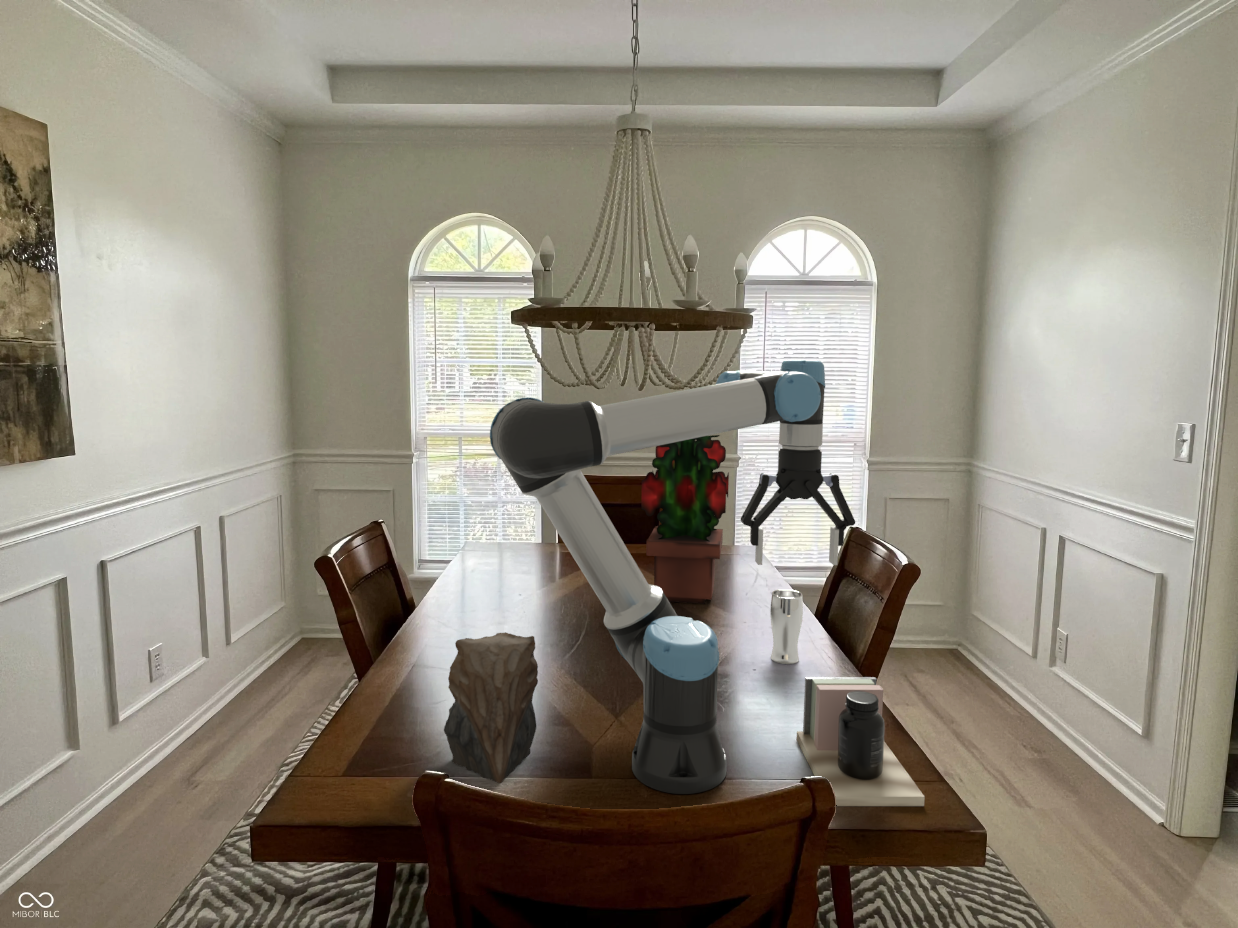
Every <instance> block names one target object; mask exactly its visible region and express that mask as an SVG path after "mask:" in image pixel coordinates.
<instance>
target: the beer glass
mask: <svg viewBox="0 0 1238 928" xmlns="http://www.w3.org/2000/svg"><path fill="white" fill-rule="evenodd" d="M803 602H804V601H803V593H802V592H800V591H798V590H796V589H795V590H794V589H787V588H785V589H782V588H780V589H774V590H773V591H771V600H770V610H769V613H770V615H769V617H770V625H771V633H772V641H773V642H772V643H773V644H772V645H773V646H772V650H771V654H770V658H771V660H772V661H773V662H775V663H777V664H781V665H794V664H797V663H799V661H800V657H799V651H798V644H799V637H800V633H801V629H802V623H803V618H804V617H803V615H804V606H803V605H804V603H803Z"/></svg>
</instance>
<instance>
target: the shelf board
mask: <svg viewBox="0 0 1238 928" xmlns="http://www.w3.org/2000/svg"><path fill="white" fill-rule="evenodd" d="M796 742H797V744H798V746H799V747H800V749H801V752H802V754H803V755H804V757H805V759H806V762H807V764H808V766H809V768H810V770H811V772H812V773H813V776H814V777H815V776H822V777H825V778H827V779H828V780H829V782H831V784H832V787H833V790H834V792H835V796H836V805H837V806H836V807H925V800H926V799H925V797H926V796H925V794H923V793H922V790H920V788H919V787H918V785H917V784H916V782H915V781H914V780H913V779H912V777H911V775H910V774H909V773H908V772H907V771H906V769H905V767H904V766H903V765H902V763H901V762H900V761H899V760H898V758H897V757H896V756H895V754H894V753H893V751H892V750H891V749H890V747H889V746H888V745H887V743H886V742H885V741H884V753H883V771H882V774H881V775H880V776H879V777H877V778H875V779H871V780H861V779H856V778H852V777H850V776H847V775H846V774H844V773H843V772H842V771H841V770H840V769H839V767H838V750H817V749H816V747H815V745H814V742H815V741H814V740H813V739H812V737H811V736H810V735H804V733H803V730H802V731H800V730H799V731H796Z"/></svg>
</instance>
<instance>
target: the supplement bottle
mask: <svg viewBox="0 0 1238 928" xmlns="http://www.w3.org/2000/svg"><path fill="white" fill-rule="evenodd" d="M845 706H846V709H844V710H843V711H842V712H841V713H840V715H839V728H838V767H839V769H840V770H841V771H842V772H843V773H844V774H846V775H847V776H850V777H852V778H856V779H861V780H871V779H875V778H877V777H879V776H880V775H881V774H882V771H883V753H884V742H885V719H884V718H883V715H882V716H881V715H880V714H879V713H878V710H879V707H878V698H877V696H876V695H874V694H872V693H869V692H864V691H853V692H849V693H848V694H847V695H846V704H845Z"/></svg>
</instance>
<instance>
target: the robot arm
mask: <svg viewBox="0 0 1238 928" xmlns="http://www.w3.org/2000/svg"><path fill="white" fill-rule="evenodd" d="M825 388H826V373H825V365H824V363H823V362H822V361H821V360H817V359H816V360H814V359H813V360H812V359H811V360H810V359H809V360H806V359H802V360H801V359H799V360H797V359H795V360H794V359H788V360H787V359H785V360H784V361H782V363H781V367H780V370H776V371H768V370H767V371H763V370H738V369H737V370H735V371H734V370H730V371H729V370H728V371H724V372H721V374H719V376H718V378H717V379H716V383H715V384H711V385H705V386H700V387H695V388H689V389H685V390H683V389H682V390H678V391H673V392H668V393H663V394H657V395H652V396H646V397H642V398H641V397H640V398H635V399H629V400H626V401H625V400H624V401H618V402H614V403H607V404H602V405H596V404H595V403H594V402H593V401H590V400H587V401H586V400H585V401H580V402H575V403H574V402H572V403H553V402H552V403H551V402H545V401H543V400H541V399H539V398H537V397H536V398H535V397H520V398H516V399H515V400H511V401H509V402H507V403H506V404H505V405H503V406H502V407H501V408H500V409H499V410H498V411H497V412H496V413H495V416H494V417H493V420H492V422H491V424H490V429H489V440H490V441H489V442H490V446H491V448H492V450H493V453H495V455H496V456H497V458H498V459H500V460H501V462H502V463H503V465H504V466H505V468H506V469H507V471H508V473H509V474H510V476H511V477H512V479H513V481H514V482H515V483H516V485H517V487H518V488H519V490H520V492H521V493H522V494H523V495H525V496H529V497H530V496H531V497H534V498H536V500H537V502H538V503H539V504H540V506H541V508H542V510H543V511H544V513H545V514H546V515H547V517H548V519H549V520H550V522H551V524H552V525H553V527H554V529H555V531H556V532H557V533H558V535H559V538H560V539H561V540H562V542H563V543H564V544H565V547H566V548H567V549H568V552H569V553H570V555H571V556H572V558H573V559H574V561H575V562H576V564H577V566H578V567H579V569H580V570H581V573H582V574H583V575H584V577H585V578H586V580H587V582H588V584H589V585H590V587H591V588H592V590H593V592H594V593H595V595H596V596H597V598H598V599H599V601H600V603H601V604H602V606H603V608H604V609H605V614H604V617H603V624H604V626H605V627H606V629H607V630H608V633H609V634H610V636H611V637H612V639H613V641H614V643H615V647H616V649H617V651H618V652H619V654H620V656H621V657H623V659H624V660H625V661H626V662H627V663H628V664H629V666H630V667H631V668H632V669H633V671H634V672H635V674H636V675H637V676H638V678H639V680H641V682H642V685H643V721H642V723H641V726H640V729H639V732H638V735H637V738H636V742H635V745H634V746H633V747H634V748H633V750H632V753H631V770H632V772H633V775H634V776H635V778H636V779H637V780H638V781H639V782H640V783H642V784H643V785H645V786H647V787H648V788H651V789H653V790H657V791H659V792H662V793H668V794H676V795H689V794H690V795H691V794H697V793H703V792H706V791H710V790H712V789H713V788H716V787H717V786H718V785H720V784H722V782H723V781H724V780H725V777H726V776H727V767H728V766H727V765H728V764H727V762H728V761H727V760H728V759H727V754H726V752H725V749H724V748H723V745H722V740H721V736H720V732H719V729H718V726H717V718H718V717H717V715H718V714H717V713H718V712H717V711H718V686H719V685H718V684H719V683H718V682H719V681H718V680H719V678H718V677H719V662H720V652H719V641H718V640H719V639H718V638H717V634H716V633H715V631H714V630H713V629H712V627H710V625H708V624H706V623H705V622H702V621H701V620H694V619H693V618H692V617H688V616H687V617H686V616H681V615H678V614H677V613H676V611H675V608H673V605H672V604H671V602H669V601H668V599H667V597H666V596H665V594H664V593H663V591H662V589H661V588H660V587H659V586H656V585H654V584H651V583H650V584H649V582H648V581H647V579H646V578H645V576H644V574H643V572H642V570H641V569H640V567H639V566H638V564H637V562H636V561H635V559H634V558H633V556H632V555H631V552H630V551H629V548H627V546H626V544H625V543H624V541H623V539H622V537H621V536H620V534H619V532H618V531H617V529H616V527H615V526H614V524H613V522H612V520H611V519H610V517H609V516H608V514H607V512H606V511H605V509H604V507H603V506H602V504H601V502H600V500H599V498H598V497H597V495H596V494H595V492H594V491H593V488H592V487H591V485H590V483H589V482H588V481H587V478H586V477H585V475H584V473H583V472H582V469H583V470H584V469H588V468H591V467H597V466H600V465H602V464H604V462H605V461H606V459H607V458H608V457H610V456H615V455H620V454H625V453H630V452H634V451H639V450H644V449H650V448H654V447H655V448H656V446H659V445H664V444H669V443H674V442H679V441H683V440H688V439H693V438H698V437H703V436H712V435H718V434H722V433H726V432H732V431H735V430H739V429H745V428H751V427H755V426H761V425H768V424H772V423H777V422H779V432H778V433H779V436H778V437H779V438H778V444H779V445H780V446H781V447H779V449H778V455H777V456H778V458H777V460H778V461H777V463H778V464H777V472H776V474H768V473H765V472H762V473H760V474H759V480H758V485H757V487H756V488H755V491H754V492H753V495H752V497H751V498H750V500H749V502H748V503H747V506H746V507H745V509H744V511H743V513H742V515H741V517H740V522H741V523H742V524H743V525H744V526H747V527H750V534H749V535H750V536H749V538H750V539H749V542H750V545H751V546H753V547H754V546H755V555H754V556H755V558H754V562H755V563H756V564H757V565H758V566H762V565H763V548H764V529H763V528H762V524H763V523H764V522H765V521H766V520H768V518H769V516H771V514H772V513H773V512H774V511H776V509H777V508H778V506H780V505H781V504H782V502H784V501H785V500H786V499H787V498H788V499H790V500H797V499H801V500H809V499H810V498H812V499H813V501H815V503H817V505H818V506H819V507H820V508H821V509H822V511H823V512H824V513H825V515H827V517H828V518H829V519H830V520H831V522H832V523H833V525H834V526H830V531H829V532H830V533H829V554H828V562H829V563H830V564H832V566H838V563H839V562H838V560H839V557H838V556H839V547H842V546H844V544H845V543H844V542H845V530H846V529H847V527H850V526H855V524H856V520H855V518H854V516H853V513H852V511H851V509H850V507H849V504H848V502H847V500H846V498H845V495H844V494H843V491H842V489H841V487H840V477H839V475H838V474H836V473H834V472H830V473H829V474H825V475H824V474H822V461H823V459H822V452H823V451H822V449H821V448H819V447H821V446H822V445H823V431H824V429H823V428H824V426H823V425H824V423H823V422H824V410H825V409H824V407H825V406H824V405H825V390H826V389H825ZM774 483H776V485H777V486H778V488H777V490H776V491H775V492H774V494H773V496H772V497H771V498H770V499H769V500H768V501H767V502H766V504H764V506H763V507H762V508H761V509H760V510H759V511H758V512H757V510H758V508H759V506H760V504H761V502H762V500H763V498H764V496H765V494H766V493H767V491H768V488H769V487H771V486H772V485H773V484H774ZM823 483H825V485H826V486H827V487H828V488H829V489H830V492H831V494H832V496H833V499H834V500H835V504H836V505H837V507H838V510H839V511H840V514H841V515H842V518H841V517H840V516H839V515H838V514H837V513H836V512H835V510H834V509H833V508H832V506H831V504H829V503H828V502H827V500H826V499H825V498H824V496H823V495H822V494H821V493H820V491H819V488H821V486H822V484H823ZM756 512H757V514H755V513H756ZM754 515H755V516H754Z"/></svg>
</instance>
